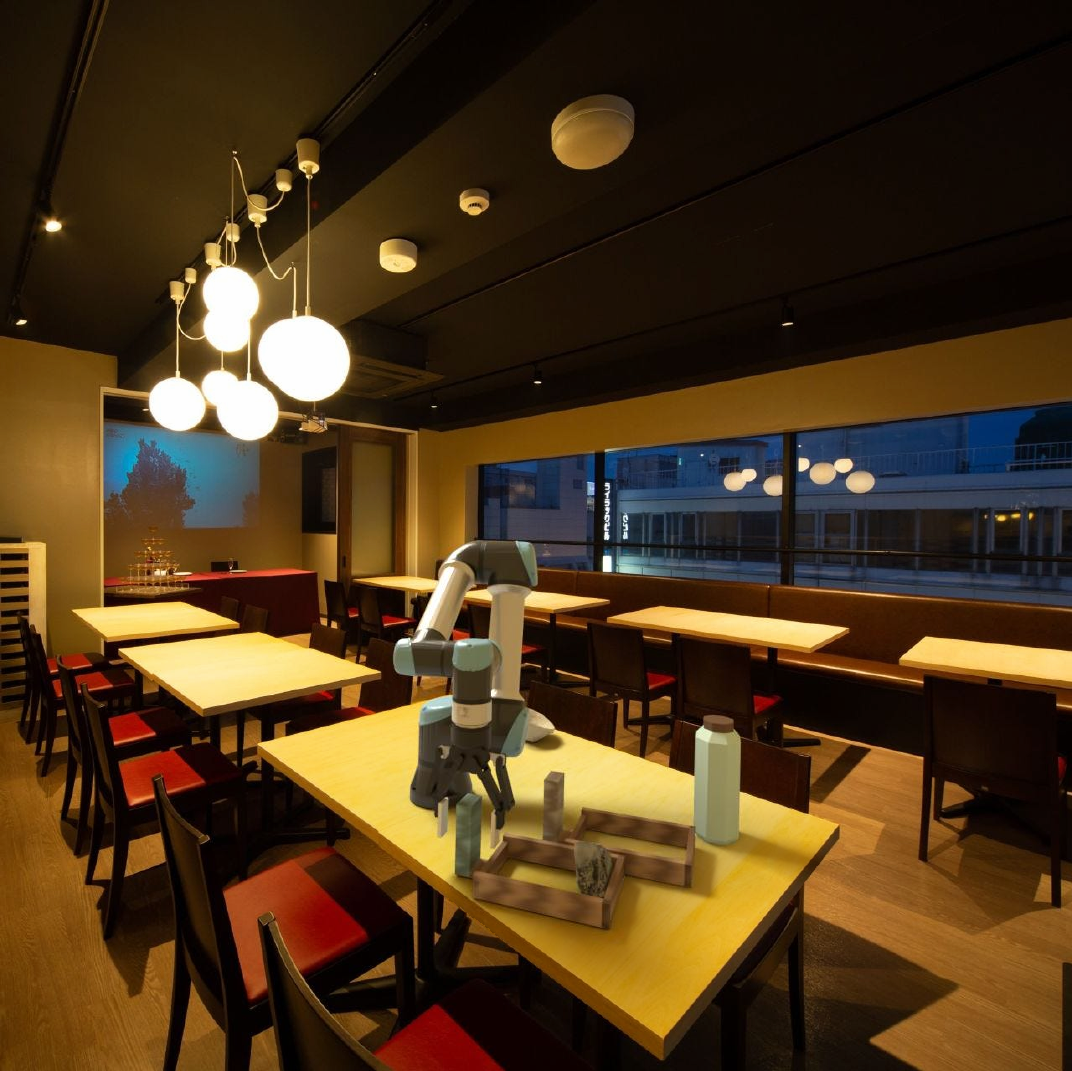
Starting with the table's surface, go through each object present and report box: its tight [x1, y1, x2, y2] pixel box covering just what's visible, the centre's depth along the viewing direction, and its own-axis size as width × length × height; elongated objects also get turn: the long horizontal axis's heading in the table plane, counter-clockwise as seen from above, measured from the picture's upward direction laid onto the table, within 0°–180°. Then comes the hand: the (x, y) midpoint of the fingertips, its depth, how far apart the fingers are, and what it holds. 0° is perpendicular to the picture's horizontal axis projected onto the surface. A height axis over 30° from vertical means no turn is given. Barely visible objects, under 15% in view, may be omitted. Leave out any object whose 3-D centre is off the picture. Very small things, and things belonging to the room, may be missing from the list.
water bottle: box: [692, 714, 742, 846], centre depth 125 cm, size 10×10×25 cm
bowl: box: [526, 708, 556, 742], centre depth 182 cm, size 15×14×10 cm
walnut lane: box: [454, 793, 626, 930], centre depth 105 cm, size 30×15×13 cm, turn 72°
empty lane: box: [542, 770, 696, 888], centre depth 117 cm, size 30×15×13 cm, turn 72°
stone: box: [574, 840, 613, 899], centre depth 103 cm, size 10×10×10 cm
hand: (468, 839), depth 109 cm, fingers open, 10 cm apart
